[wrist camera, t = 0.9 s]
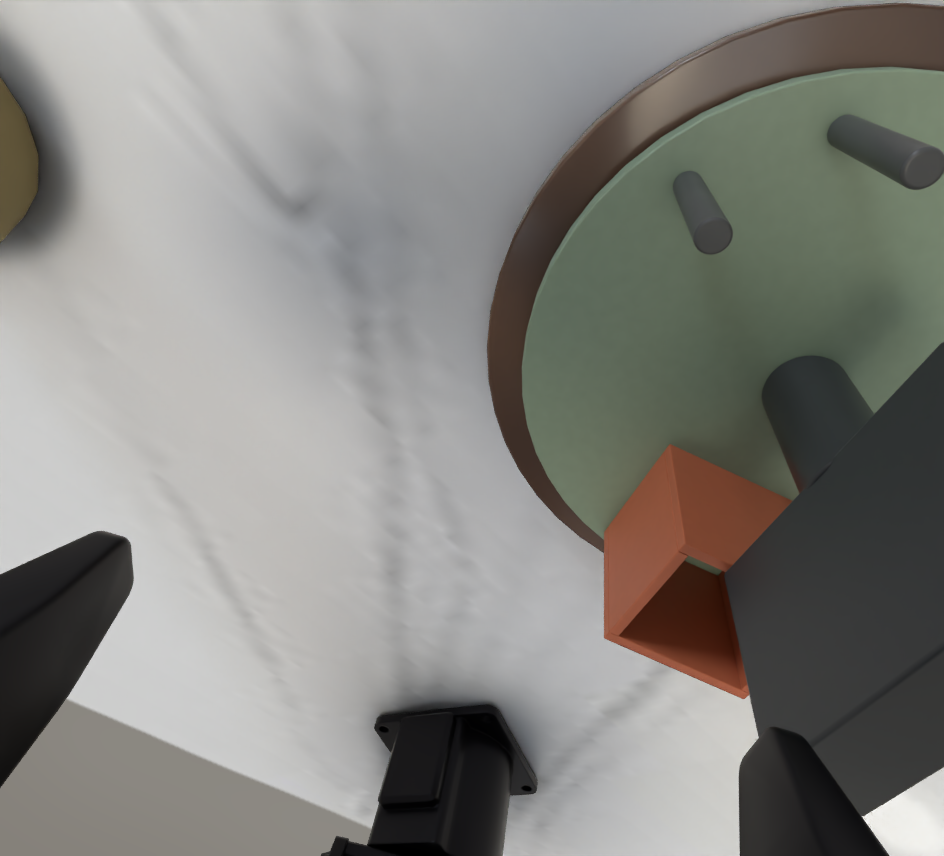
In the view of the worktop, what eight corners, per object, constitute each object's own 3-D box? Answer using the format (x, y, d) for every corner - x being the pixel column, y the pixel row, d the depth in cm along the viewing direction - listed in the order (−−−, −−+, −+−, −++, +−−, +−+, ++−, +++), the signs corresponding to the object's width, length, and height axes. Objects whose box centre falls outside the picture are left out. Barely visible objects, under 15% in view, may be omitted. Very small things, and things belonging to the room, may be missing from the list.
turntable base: (840, 644, 26) (848, 665, 25) (413, 452, 24) (406, 467, 23) (1357, 212, 16) (1400, 223, 15) (691, -148, 14) (696, -159, 14)
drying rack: (845, 640, 24) (989, 1014, 15) (448, 462, 23) (346, 751, 14) (1311, 252, 15) (2300, 577, 6) (716, -66, 14) (908, -209, 5)
